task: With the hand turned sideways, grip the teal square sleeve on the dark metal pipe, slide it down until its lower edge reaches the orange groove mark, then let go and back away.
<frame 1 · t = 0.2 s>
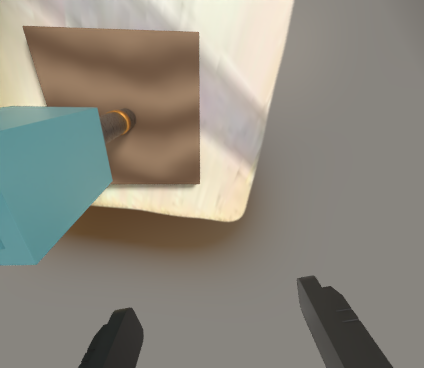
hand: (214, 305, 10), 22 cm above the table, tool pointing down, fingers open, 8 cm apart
pipe: (71, 144, 15), on the stand board, point 14 cm above the table
sleeve: (22, 168, 11), point 18 cm above the table, slide at 0.0 cm
stand board: (130, 116, 27), on the table
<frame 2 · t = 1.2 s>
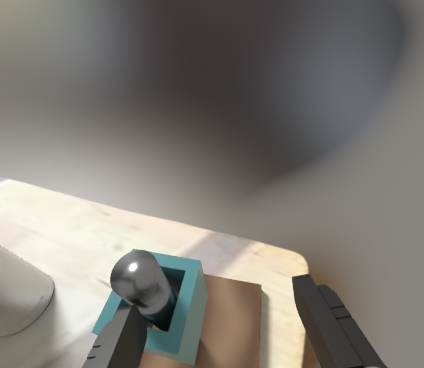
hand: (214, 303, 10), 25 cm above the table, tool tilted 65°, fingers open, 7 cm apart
pipe: (175, 322, 19), on the stand board, point 14 cm above the table
sleeve: (164, 309, 16), point 18 cm above the table, slide at 0.1 cm
stand board: (192, 343, 29), on the table
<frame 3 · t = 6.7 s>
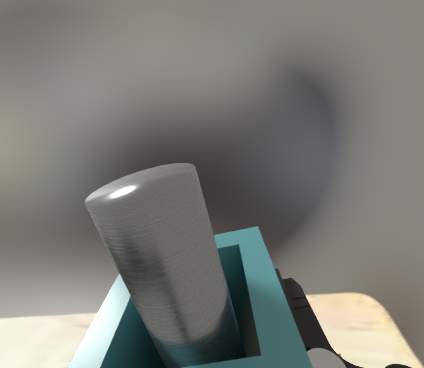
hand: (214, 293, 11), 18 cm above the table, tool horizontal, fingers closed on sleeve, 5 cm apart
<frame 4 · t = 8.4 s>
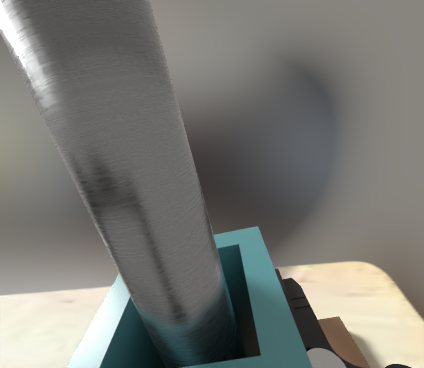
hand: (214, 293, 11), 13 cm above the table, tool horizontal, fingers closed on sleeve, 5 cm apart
pipe: (211, 365, 7), on the stand board, point 14 cm above the table
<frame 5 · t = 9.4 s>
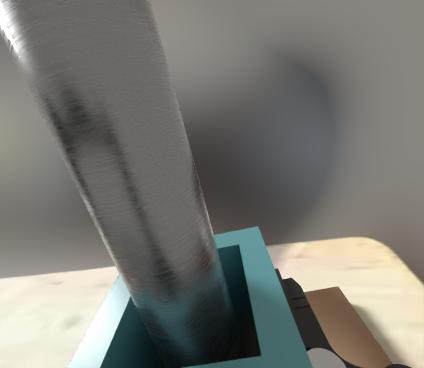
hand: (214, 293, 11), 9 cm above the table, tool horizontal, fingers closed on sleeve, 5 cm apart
pipe: (181, 283, 6), on the stand board, point 14 cm above the table
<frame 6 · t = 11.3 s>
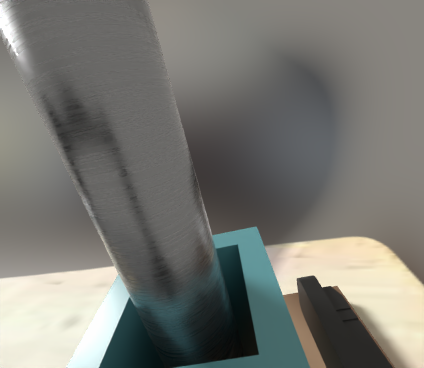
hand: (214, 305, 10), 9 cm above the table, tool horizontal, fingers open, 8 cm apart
pipe: (179, 282, 6), on the stand board, point 14 cm above the table
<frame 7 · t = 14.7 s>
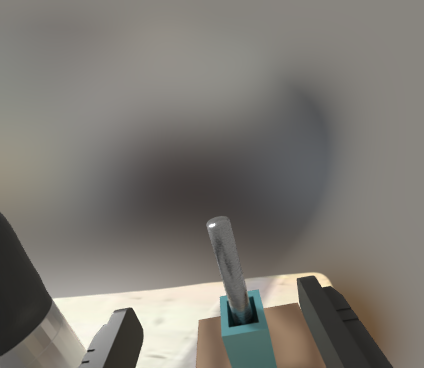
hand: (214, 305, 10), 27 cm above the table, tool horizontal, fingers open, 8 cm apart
pipe: (240, 308, 25), on the stand board, point 14 cm above the table
sleeve: (247, 333, 26), point 9 cm above the table, slide at -9.0 cm
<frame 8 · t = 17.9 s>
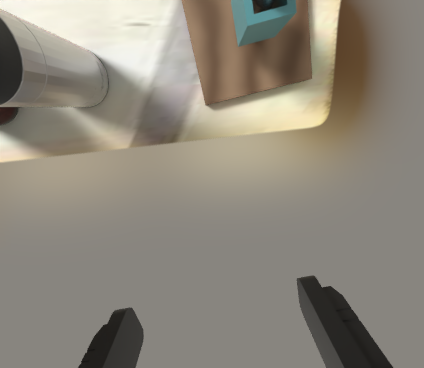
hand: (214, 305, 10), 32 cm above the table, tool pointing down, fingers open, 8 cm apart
sleeve: (259, 6, 25), point 9 cm above the table, slide at -9.0 cm
stand board: (247, 32, 33), on the table
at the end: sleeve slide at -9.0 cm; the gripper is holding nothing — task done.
